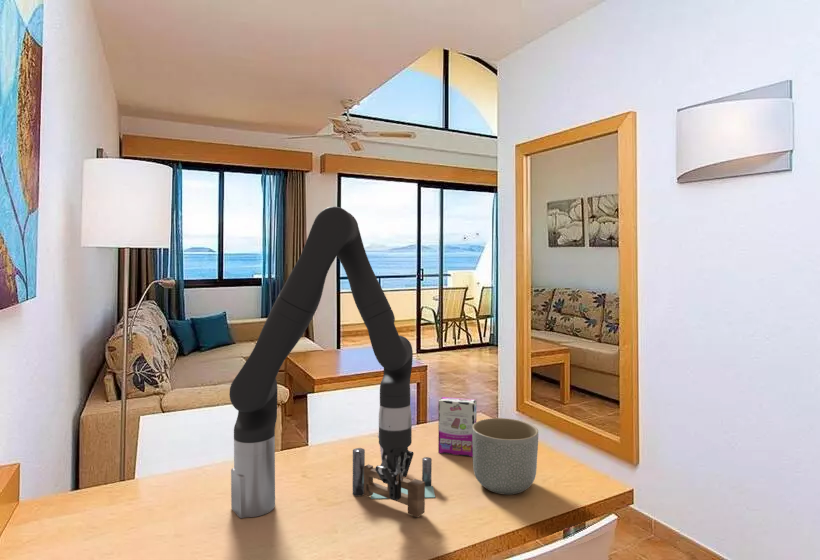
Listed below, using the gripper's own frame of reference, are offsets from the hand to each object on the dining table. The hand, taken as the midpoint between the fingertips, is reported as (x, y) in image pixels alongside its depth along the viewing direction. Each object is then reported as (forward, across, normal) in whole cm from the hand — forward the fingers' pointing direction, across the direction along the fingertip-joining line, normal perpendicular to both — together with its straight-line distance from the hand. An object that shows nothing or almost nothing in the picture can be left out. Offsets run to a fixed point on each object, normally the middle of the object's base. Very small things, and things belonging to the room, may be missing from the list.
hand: (395, 498), depth 115 cm
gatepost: (+4, +5, +14) cm, 15 cm away
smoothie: (+4, +22, +17) cm, 28 cm away
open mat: (+4, +11, +5) cm, 13 cm away
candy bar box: (+4, +42, +5) cm, 43 cm away
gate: (+3, +4, +3) cm, 6 cm away
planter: (+4, +28, -16) cm, 33 cm away
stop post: (+4, +18, +2) cm, 18 cm away
